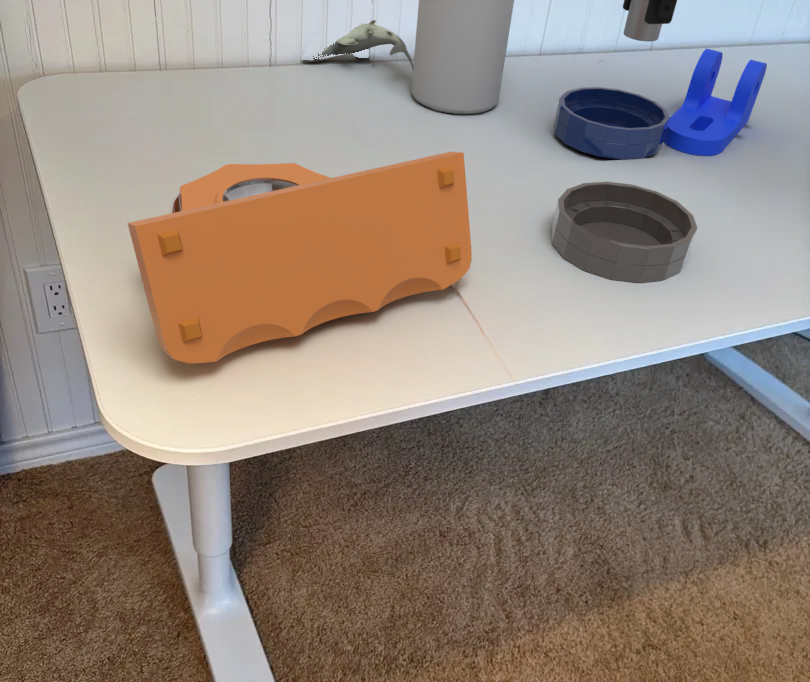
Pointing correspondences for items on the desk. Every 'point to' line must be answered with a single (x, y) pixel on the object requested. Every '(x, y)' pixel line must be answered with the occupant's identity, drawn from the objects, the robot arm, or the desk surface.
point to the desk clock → (297, 249)
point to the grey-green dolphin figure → (366, 41)
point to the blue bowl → (610, 123)
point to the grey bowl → (622, 231)
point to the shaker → (640, 23)
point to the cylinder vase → (460, 54)
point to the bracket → (713, 108)
